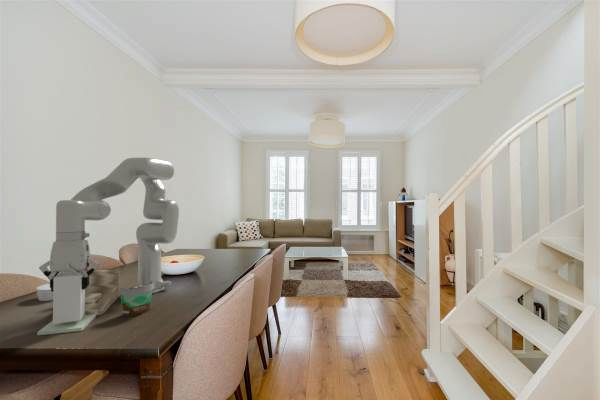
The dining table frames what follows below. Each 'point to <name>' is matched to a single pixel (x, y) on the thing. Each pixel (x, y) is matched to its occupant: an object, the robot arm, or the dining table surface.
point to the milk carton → (68, 297)
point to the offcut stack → (92, 298)
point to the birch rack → (102, 290)
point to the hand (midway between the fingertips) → (69, 289)
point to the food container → (136, 299)
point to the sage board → (67, 326)
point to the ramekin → (44, 293)
